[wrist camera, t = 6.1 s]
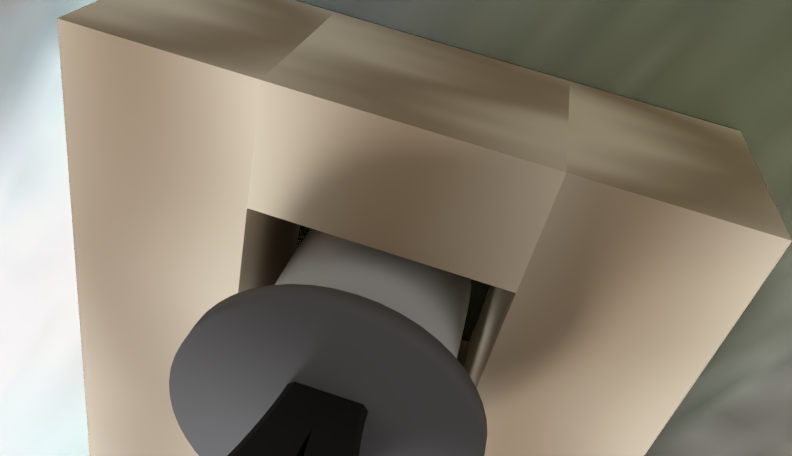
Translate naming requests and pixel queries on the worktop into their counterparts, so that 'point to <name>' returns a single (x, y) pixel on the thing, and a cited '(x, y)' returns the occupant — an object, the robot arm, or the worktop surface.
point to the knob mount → (399, 210)
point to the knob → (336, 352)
